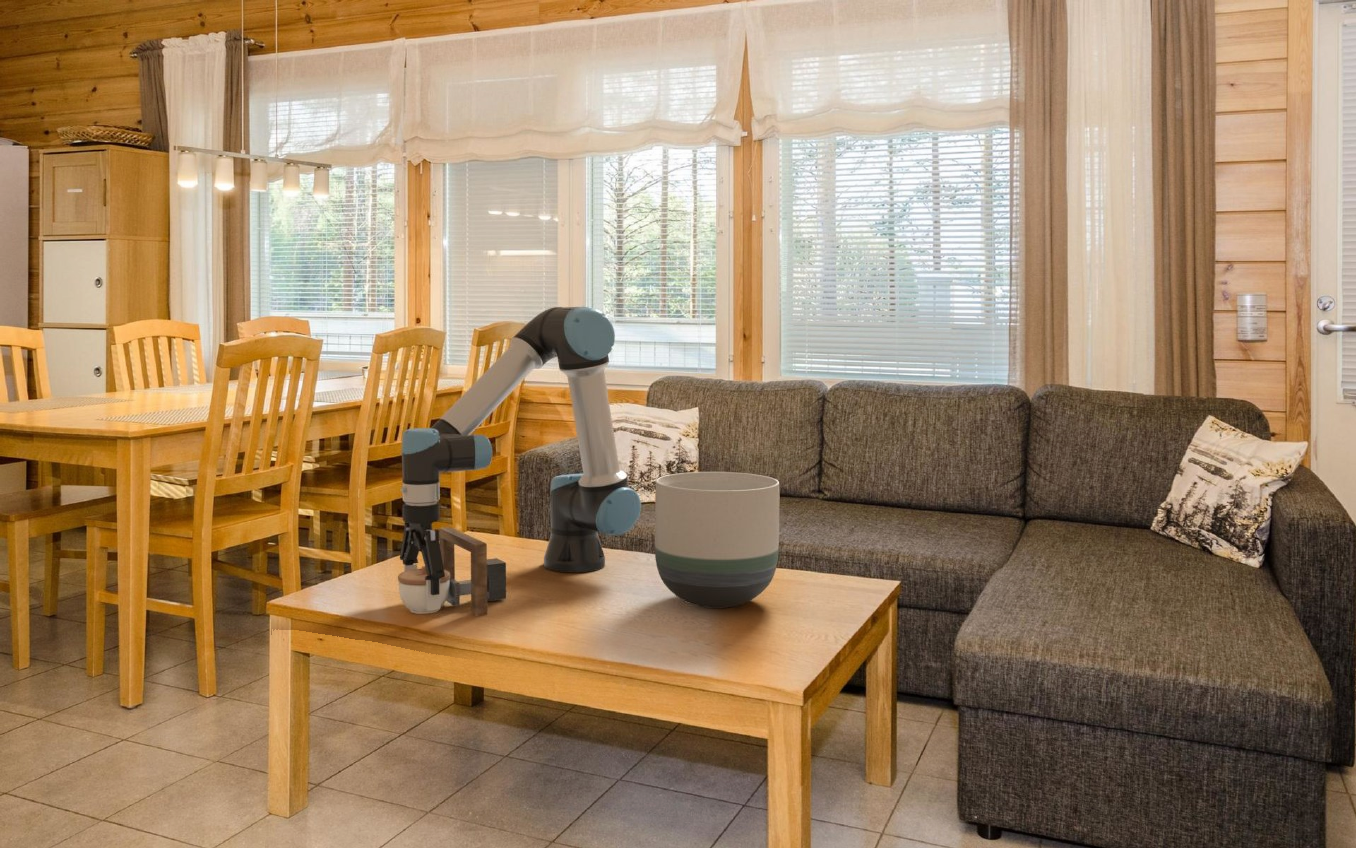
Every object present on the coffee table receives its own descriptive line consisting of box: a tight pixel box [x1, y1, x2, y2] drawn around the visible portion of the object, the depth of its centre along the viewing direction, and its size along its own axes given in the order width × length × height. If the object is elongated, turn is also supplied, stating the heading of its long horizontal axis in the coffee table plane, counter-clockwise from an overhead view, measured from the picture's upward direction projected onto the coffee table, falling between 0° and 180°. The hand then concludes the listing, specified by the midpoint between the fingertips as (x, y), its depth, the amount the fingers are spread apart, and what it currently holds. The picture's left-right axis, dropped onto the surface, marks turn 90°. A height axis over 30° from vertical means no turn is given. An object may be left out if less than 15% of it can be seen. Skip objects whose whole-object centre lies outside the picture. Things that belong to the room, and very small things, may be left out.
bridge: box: [438, 526, 488, 617], centre depth 233 cm, size 2×20×15 cm, turn 33°
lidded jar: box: [397, 565, 450, 615], centre depth 228 cm, size 11×11×9 cm
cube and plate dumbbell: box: [446, 557, 507, 607], centre depth 235 cm, size 12×9×8 cm
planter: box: [654, 471, 780, 609], centre depth 235 cm, size 27×27×27 cm
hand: (421, 602), depth 228 cm, fingers open, 13 cm apart
